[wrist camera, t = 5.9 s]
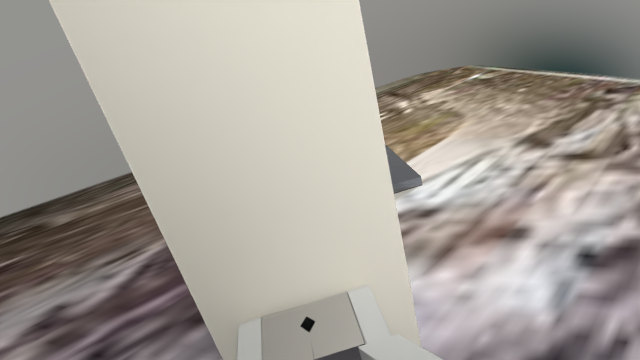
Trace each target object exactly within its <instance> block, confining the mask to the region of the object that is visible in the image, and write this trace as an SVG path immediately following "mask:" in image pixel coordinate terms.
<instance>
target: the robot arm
mask: <svg viewBox="0 0 640 360" xmlns="http://www.w3.org/2000/svg"><path fill="white" fill-rule="evenodd" d="M236 360H443V359H442V358H440V357H438V356H436V355H435V354H433V353H431V352H429V351H428V350H426V349H424V348H422V347H421V346H419V345H417V344H415V343H414V342H412V341H410V340H408V339H407V338H405V337H403V336H401V335H400V334H398V335H394V336H392V334H391V332H390V330H389V328H388V325H387V323H386V321H385V319H384V317H383V314H382V312H381V310H380V308H379V305H378V303H377V301H376V299H375V297H374V294H373V292H372V290H371V288H370V286H369V285H368V284H365V285H362V286H359V287H356V288H353V289H350V290H347V292H343V293H339V294H336V295H333V296H330V297H327V298H323V299H320V300H317V301H314V302H311V303H308V304H304V305H301V306H297V307H293V308H290V309H286V310H283V311H279V312H276V313H272V314H269V315H265V316H262V317H259V318H256V319H252V320H249V321H245V322H242V323H240V325H239V327H238V339H237V358H236Z"/></svg>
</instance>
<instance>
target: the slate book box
mask: <svg viewBox="0 0 640 360" xmlns="http://www.w3.org/2000/svg"><path fill="white" fill-rule="evenodd" d="M49 2H50V3H51V6H52V7H53V10H54V12H55V14H56V16H57V18H58V20H59V22H60V24H61V26H62V28H63V30H64V32H65V35H66V36H67V39H68V41H69V43H70V45H71V47H72V49H73V51H74V53H75V55H76V57H77V59H78V61H79V63H80V65H81V67H82V70H83V72H84V74H85V76H86V78H87V80H88V82H89V84H90V86H91V88H92V90H93V92H94V94H95V97H96V99H97V101H98V103H99V105H100V107H101V109H102V111H103V113H104V115H105V117H106V119H107V121H108V123H109V125H110V127H111V129H112V132H113V134H114V136H115V138H116V139H117V142H118V144H119V146H120V148H121V150H122V152H123V154H124V156H125V158H126V161H127V163H128V165H129V167H130V169H131V171H132V173H133V175H134V177H135V179H136V181H137V183H138V185H139V187H140V189H141V191H142V194H143V196H144V198H145V200H146V202H147V204H148V206H149V208H150V210H151V212H152V214H153V216H154V218H155V220H156V222H157V225H158V227H159V229H160V231H161V233H162V235H163V237H164V239H165V241H166V243H167V245H168V247H169V249H170V251H171V253H172V255H173V258H174V260H175V262H176V264H177V266H178V268H179V270H180V272H181V274H182V276H183V278H184V280H185V282H186V284H187V286H188V289H189V291H190V293H191V295H192V297H193V299H194V301H195V303H196V305H197V307H198V309H199V311H200V313H201V315H202V317H203V320H204V322H205V324H206V326H207V328H208V330H209V332H210V334H211V336H212V338H213V340H214V342H215V344H216V346H217V348H218V350H219V353H220V355H221V357H222V359H223V360H236V358H237V339H238V327H239V325H240V323H242V322H245V321H249V320H252V319H256V318H259V317H262V316H265V315H269V314H272V313H276V312H279V311H283V310H286V309H290V308H293V307H297V306H301V305H304V304H308V303H311V302H314V301H317V300H320V299H323V298H327V297H330V296H333V295H336V294H339V293H343V292H347V290H350V289H353V288H356V287H359V286H362V285H365V284H368V285H369V286H370V288H371V290H372V292H373V294H374V297H375V299H376V301H377V303H378V305H379V308H380V310H381V312H382V314H383V317H384V319H385V321H386V323H387V325H388V328H389V330H390V332H391V334H392V336H394V335H398V334H400V335H401V336H403V337H405V338H407V339H408V340H410V341H412V342H414V343H415V344H417V345H419V346H421V341H420V336H419V330H418V325H417V319H416V314H415V308H414V303H413V297H412V292H411V286H410V280H409V275H408V269H407V264H406V258H405V253H404V247H403V242H402V236H401V231H400V225H399V220H398V214H397V209H396V203H395V198H394V192H393V187H392V181H391V175H390V170H389V164H388V159H387V153H386V148H385V142H384V137H383V131H382V126H381V120H380V115H379V109H378V104H377V98H376V93H375V87H374V82H373V76H372V71H371V65H370V59H369V54H368V48H367V43H366V37H365V32H364V27H363V21H362V15H361V10H360V5H359V0H49Z"/></svg>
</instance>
